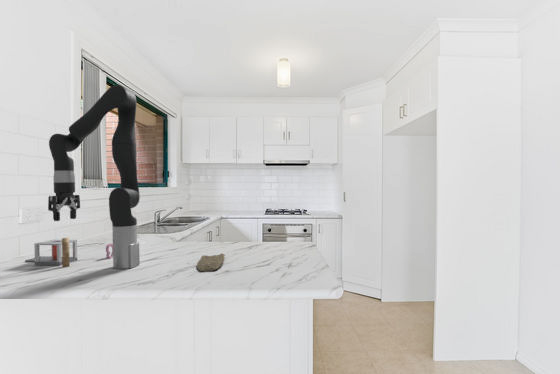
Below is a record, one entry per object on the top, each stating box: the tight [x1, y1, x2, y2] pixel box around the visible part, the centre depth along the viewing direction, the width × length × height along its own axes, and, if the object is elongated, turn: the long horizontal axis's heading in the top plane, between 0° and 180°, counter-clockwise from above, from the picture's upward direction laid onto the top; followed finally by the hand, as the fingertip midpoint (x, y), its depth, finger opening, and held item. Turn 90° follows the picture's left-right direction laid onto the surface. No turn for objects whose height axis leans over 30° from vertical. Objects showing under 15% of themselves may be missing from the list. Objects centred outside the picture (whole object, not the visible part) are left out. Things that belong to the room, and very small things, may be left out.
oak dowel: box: [61, 237, 71, 268], centre depth 136 cm, size 2×2×12 cm
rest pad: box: [24, 255, 52, 263], centre depth 149 cm, size 8×8×1 cm
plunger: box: [51, 245, 57, 260], centre depth 143 cm, size 3×3×6 cm
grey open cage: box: [34, 239, 78, 267], centre depth 143 cm, size 12×10×9 cm
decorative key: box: [105, 243, 113, 259], centre depth 159 cm, size 7×1×20 cm
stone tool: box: [196, 253, 225, 273], centre depth 136 cm, size 11×3×25 cm
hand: (65, 219), depth 136 cm, fingers open, 8 cm apart
